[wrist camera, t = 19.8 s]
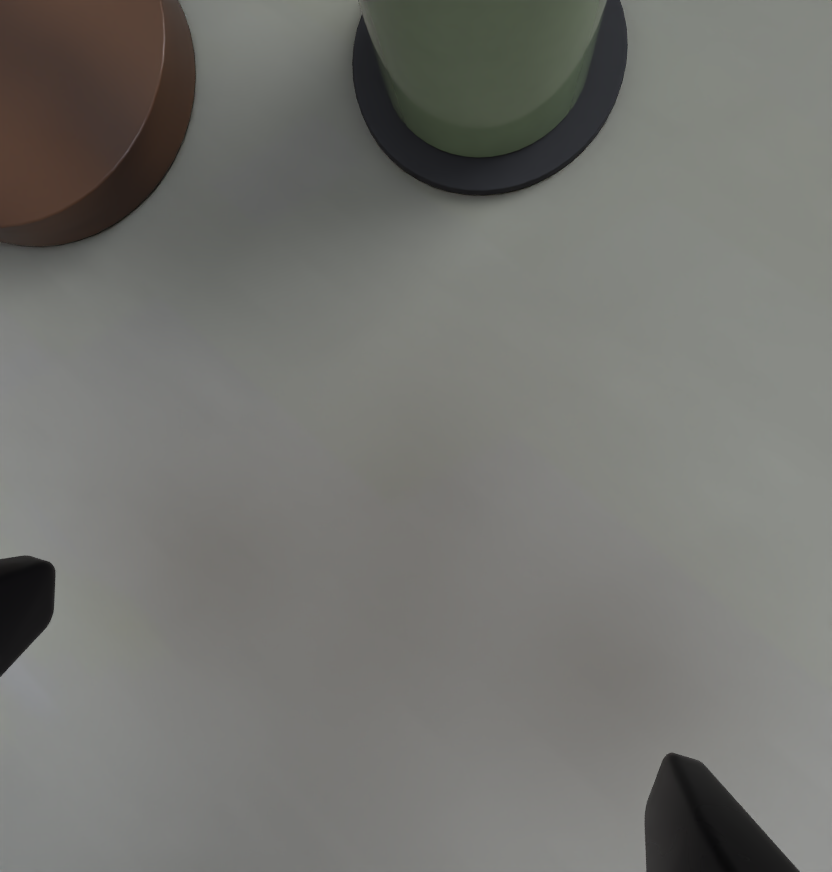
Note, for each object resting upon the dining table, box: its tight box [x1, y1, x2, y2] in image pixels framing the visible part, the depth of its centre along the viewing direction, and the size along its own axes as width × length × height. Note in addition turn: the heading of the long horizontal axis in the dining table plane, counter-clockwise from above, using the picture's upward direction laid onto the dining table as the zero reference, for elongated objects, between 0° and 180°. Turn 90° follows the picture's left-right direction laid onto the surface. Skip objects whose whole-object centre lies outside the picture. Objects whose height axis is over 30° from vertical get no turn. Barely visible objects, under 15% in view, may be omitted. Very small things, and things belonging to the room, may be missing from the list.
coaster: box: [352, 0, 628, 195], centre depth 19 cm, size 8×8×1 cm
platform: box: [0, 0, 195, 247], centre depth 21 cm, size 11×11×2 cm
